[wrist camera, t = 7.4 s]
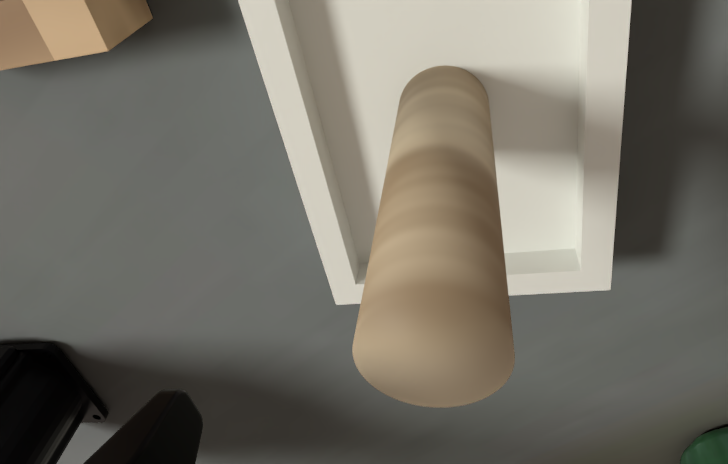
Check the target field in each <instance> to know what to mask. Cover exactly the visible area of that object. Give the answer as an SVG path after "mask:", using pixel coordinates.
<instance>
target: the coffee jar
mask: <svg viewBox="0 0 728 464" xmlns="http://www.w3.org/2000/svg"><path fill="white" fill-rule="evenodd" d="M680 464H728V427H725V428H721V429H716V430H713V431H710V432H707V433H705V434H702V435H701V436H699V437H697V438H696V439H695V440H694V441H693V443H692V444H691V445H690V446H689V447H688V448H687V449H686V450H685V451H684V453H683V455H682V457H681V460H680Z"/></svg>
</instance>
